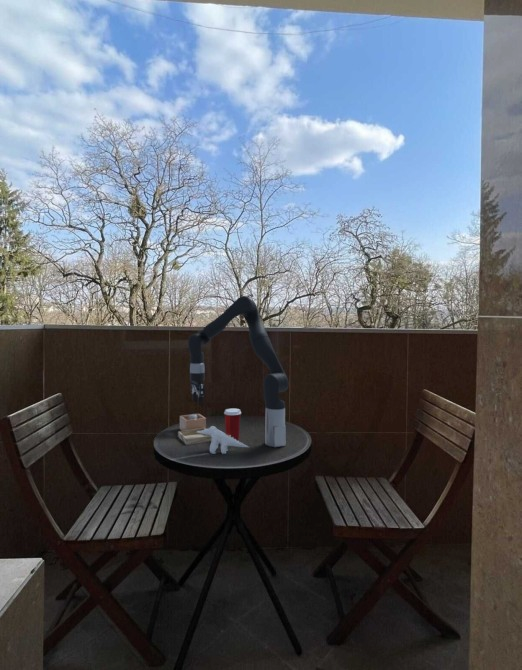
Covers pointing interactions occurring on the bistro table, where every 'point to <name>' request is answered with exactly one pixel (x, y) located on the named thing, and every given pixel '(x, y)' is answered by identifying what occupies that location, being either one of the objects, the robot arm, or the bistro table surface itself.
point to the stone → (192, 416)
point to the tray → (193, 436)
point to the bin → (192, 422)
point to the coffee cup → (232, 422)
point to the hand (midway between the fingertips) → (197, 402)
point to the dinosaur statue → (220, 440)
